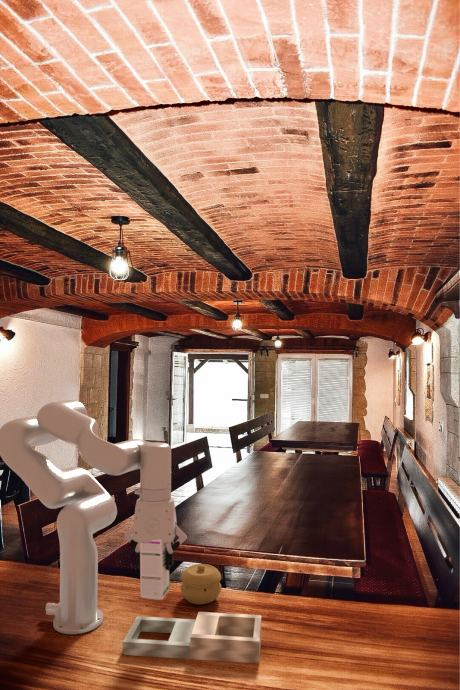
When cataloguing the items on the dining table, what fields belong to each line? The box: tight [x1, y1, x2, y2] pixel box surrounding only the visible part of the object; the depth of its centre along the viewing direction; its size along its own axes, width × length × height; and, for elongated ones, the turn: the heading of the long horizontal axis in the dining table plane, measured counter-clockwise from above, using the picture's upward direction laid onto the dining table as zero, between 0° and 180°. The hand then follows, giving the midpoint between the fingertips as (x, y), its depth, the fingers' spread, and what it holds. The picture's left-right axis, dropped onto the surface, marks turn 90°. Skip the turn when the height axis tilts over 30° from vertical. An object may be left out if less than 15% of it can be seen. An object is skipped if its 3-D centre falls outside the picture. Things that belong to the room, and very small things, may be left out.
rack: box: [122, 611, 262, 665], centre depth 125 cm, size 32×12×5 cm, turn 84°
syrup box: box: [139, 539, 171, 601], centre depth 127 cm, size 6×6×14 cm
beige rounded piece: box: [180, 563, 222, 605], centre depth 149 cm, size 12×12×10 cm
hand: (155, 566), depth 127 cm, fingers closed on syrup box, 6 cm apart
